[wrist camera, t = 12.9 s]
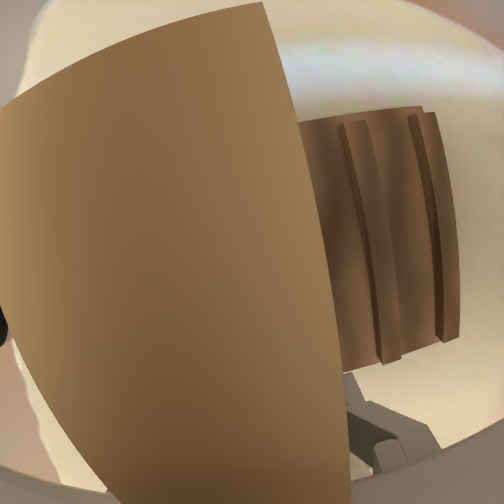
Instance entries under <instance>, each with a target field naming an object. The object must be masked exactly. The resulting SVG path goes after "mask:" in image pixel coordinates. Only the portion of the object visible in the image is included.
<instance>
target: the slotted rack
mask: <svg viewBox="0 0 504 504" xmlns="http://www.w3.org/2000/svg"><path fill="white" fill-rule="evenodd" d="M298 127H299V131H300V135H301V139H302V143H303V147H304V151H305V156H306V160H307V164H308V169H309V173H310V178H311V182H312V187H313V192H314V196H315V201H316V206H317V211H318V216H319V221H320V226H321V231H322V237H323V242H324V248H325V253H326V259H327V265H328V271H329V277H330V283H331V289H332V296H333V302H334V309H335V316H336V323H337V330H338V338H339V346H340V354H341V362H342V371H343V373H344V372H347V371H351V370H355V369H358V368H362V367H365V366H368V365H372V364H375V363H378V362H381V363H382V365H384V364H387V363H390V362H394V361H397V360H400V359H401V355H403V354H406V353H409V352H411V351H414V350H417V349H420V348H423V347H425V346H428V345H431V344H433V343H436V342H439V341H442V342H443V343H446V342H448V341H451V340H453V339H455V338H458V337H459V325H460V274H459V254H458V240H457V230H456V220H455V212H454V204H453V197H452V190H451V184H450V178H449V173H448V167H447V162H446V157H445V152H444V148H443V143H442V139H441V135H440V131H439V127H438V123H437V119H436V115H435V112H428V113H423V109H422V106H413V107H402V108H393V109H384V110H376V111H368V112H361V113H354V114H347V115H340V116H334V117H328V118H323V119H317V120H311V121H306V122H301V123H298Z"/></svg>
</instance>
